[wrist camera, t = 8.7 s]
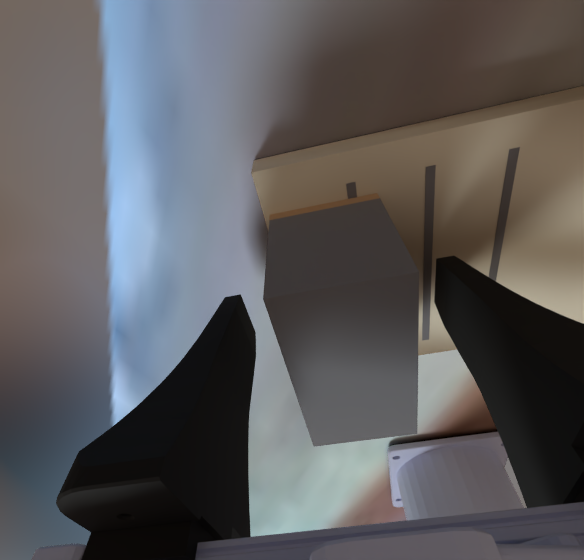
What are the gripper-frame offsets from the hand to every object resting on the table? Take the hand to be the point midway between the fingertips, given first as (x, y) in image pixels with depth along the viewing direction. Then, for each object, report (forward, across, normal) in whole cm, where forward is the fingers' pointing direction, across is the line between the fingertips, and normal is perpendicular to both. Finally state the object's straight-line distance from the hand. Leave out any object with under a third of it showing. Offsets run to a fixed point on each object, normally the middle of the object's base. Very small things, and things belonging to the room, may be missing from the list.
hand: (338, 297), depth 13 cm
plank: (+2, -4, 0) cm, 5 cm away
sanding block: (+1, 0, 0) cm, 1 cm away
